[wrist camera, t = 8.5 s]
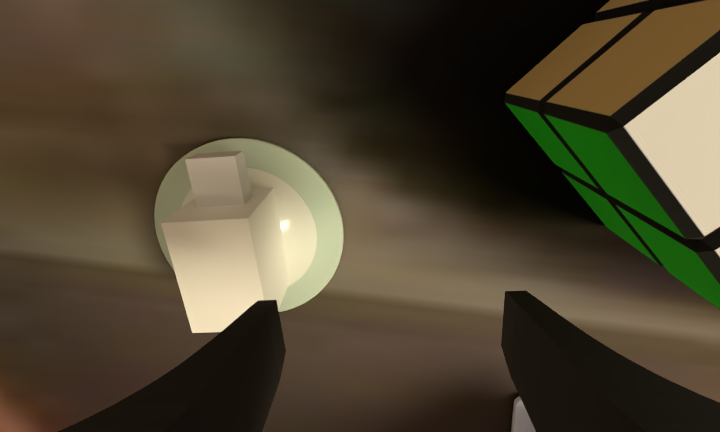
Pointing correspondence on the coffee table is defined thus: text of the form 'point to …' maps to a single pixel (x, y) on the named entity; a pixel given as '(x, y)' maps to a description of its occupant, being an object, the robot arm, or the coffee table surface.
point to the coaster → (295, 208)
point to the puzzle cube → (639, 128)
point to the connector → (225, 243)
